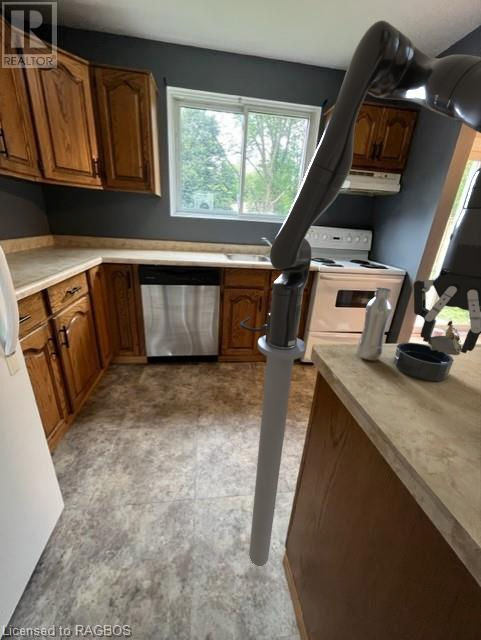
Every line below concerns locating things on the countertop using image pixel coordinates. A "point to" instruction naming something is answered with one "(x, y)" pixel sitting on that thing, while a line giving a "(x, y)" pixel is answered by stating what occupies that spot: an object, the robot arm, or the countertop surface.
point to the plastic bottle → (375, 325)
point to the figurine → (446, 342)
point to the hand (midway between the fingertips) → (444, 345)
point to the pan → (422, 361)
